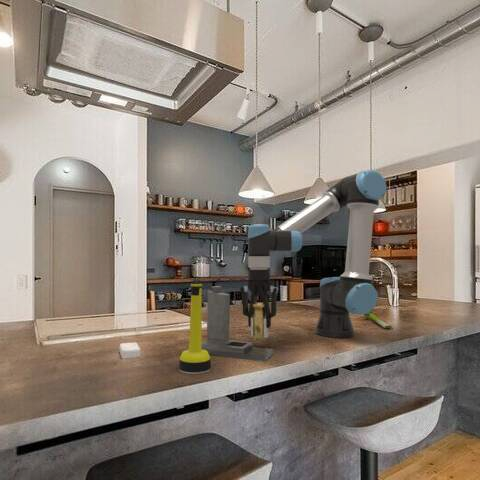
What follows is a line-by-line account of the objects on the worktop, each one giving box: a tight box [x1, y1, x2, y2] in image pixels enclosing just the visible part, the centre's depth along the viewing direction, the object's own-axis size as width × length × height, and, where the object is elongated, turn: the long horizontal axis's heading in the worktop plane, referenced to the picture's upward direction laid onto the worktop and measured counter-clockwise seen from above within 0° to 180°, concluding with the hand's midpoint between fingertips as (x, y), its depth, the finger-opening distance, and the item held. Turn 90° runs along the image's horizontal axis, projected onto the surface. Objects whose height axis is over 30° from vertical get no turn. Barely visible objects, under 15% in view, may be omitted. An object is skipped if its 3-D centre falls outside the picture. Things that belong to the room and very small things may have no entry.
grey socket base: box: [202, 338, 274, 362], centre depth 115 cm, size 22×9×3 cm, turn 69°
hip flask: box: [206, 285, 231, 340], centre depth 134 cm, size 16×4×20 cm, turn 28°
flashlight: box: [178, 278, 212, 375], centre depth 100 cm, size 25×9×9 cm
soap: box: [119, 342, 141, 360], centre depth 112 cm, size 9×6×3 cm, turn 24°
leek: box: [363, 310, 394, 330], centre depth 172 cm, size 6×7×30 cm
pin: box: [252, 302, 266, 344], centre depth 123 cm, size 5×5×13 cm
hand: (259, 336), depth 123 cm, fingers closed on pin, 4 cm apart
